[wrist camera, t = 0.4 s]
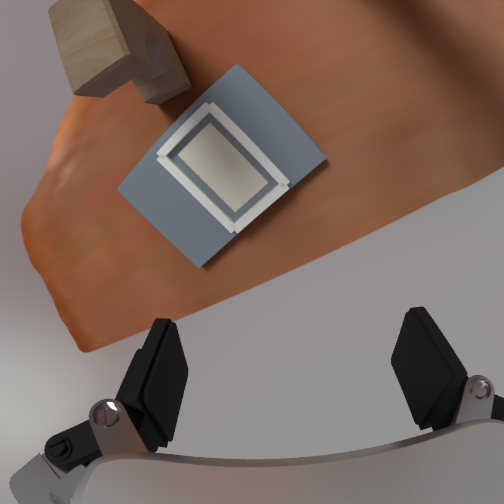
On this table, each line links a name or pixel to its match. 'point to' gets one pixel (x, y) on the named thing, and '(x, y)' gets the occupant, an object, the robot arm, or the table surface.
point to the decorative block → (116, 49)
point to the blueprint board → (220, 166)
